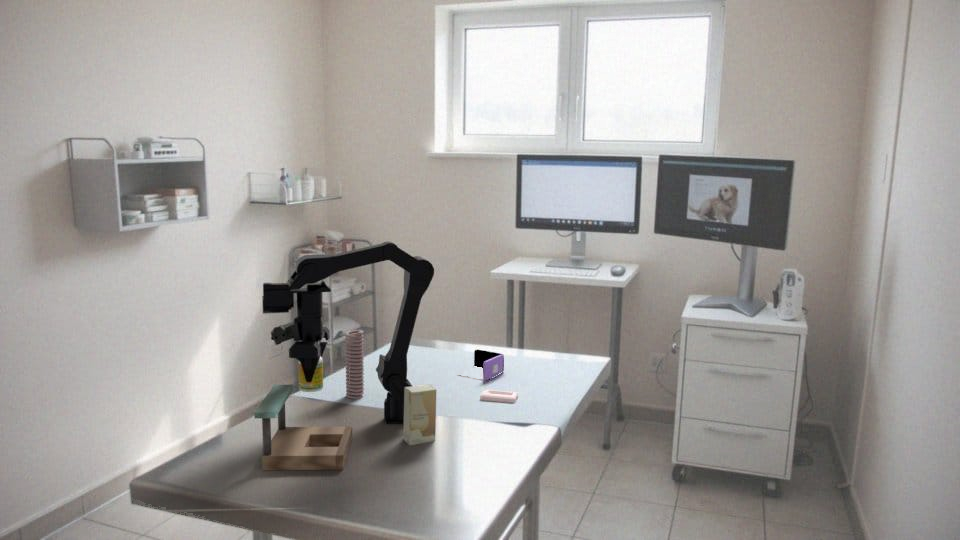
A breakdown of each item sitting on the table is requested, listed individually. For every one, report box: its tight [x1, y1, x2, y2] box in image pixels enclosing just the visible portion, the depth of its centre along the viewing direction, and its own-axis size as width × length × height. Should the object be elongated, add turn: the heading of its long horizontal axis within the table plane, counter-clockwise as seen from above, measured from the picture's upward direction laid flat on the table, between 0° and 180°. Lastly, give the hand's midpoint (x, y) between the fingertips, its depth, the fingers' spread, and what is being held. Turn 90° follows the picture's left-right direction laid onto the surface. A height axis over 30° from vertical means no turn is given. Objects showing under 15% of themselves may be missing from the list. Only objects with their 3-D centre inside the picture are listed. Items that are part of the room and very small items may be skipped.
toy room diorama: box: [473, 349, 505, 382], centre depth 211 cm, size 12×12×7 cm
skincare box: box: [402, 384, 437, 446], centre depth 162 cm, size 6×4×12 cm
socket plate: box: [253, 384, 353, 471], centre depth 154 cm, size 17×18×12 cm
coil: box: [344, 329, 365, 400], centre depth 190 cm, size 5×5×18 cm
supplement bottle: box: [298, 356, 324, 393], centre depth 167 cm, size 5×5×10 cm
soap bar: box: [479, 389, 519, 404], centre depth 191 cm, size 5×9×2 cm, turn 76°
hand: (311, 378), depth 168 cm, fingers closed on supplement bottle, 5 cm apart
